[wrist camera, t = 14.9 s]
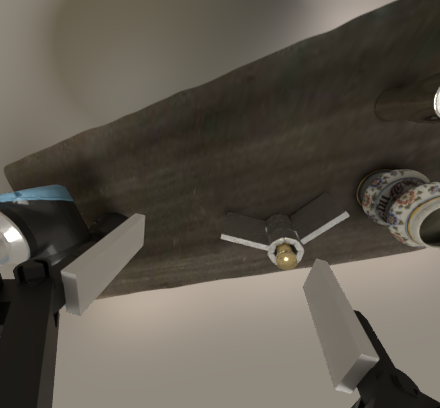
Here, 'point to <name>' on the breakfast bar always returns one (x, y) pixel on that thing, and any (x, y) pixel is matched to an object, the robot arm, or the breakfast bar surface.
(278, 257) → the brass pin
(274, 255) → the hinge fixed leaf
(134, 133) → the breakfast bar surface
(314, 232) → the hinge swing leaf
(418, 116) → the beer glass
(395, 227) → the apothecary jar
